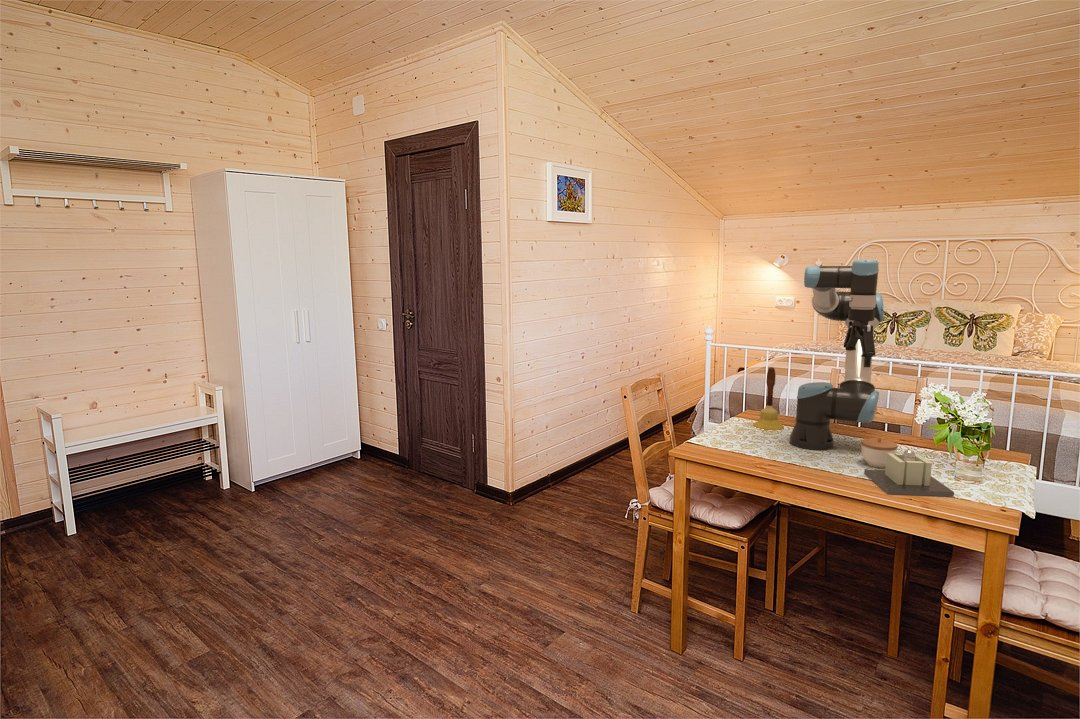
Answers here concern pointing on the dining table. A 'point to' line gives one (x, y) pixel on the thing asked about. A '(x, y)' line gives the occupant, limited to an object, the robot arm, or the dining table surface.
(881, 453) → the lidded jar
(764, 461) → the dining table surface
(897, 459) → the square link
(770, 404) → the handbell
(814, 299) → the robot arm
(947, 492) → the keeper base
